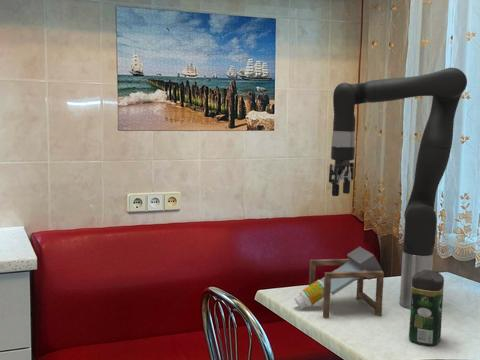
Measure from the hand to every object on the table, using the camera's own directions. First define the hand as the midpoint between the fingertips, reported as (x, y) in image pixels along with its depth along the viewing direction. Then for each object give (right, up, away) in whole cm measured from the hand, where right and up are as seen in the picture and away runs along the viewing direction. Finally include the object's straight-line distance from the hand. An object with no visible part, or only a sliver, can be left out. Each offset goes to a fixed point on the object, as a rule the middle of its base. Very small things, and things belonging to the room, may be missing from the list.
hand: (340, 194), depth 177 cm
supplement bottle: (-7, -28, -9) cm, 31 cm away
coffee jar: (+17, -38, -32) cm, 52 cm away
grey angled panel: (+2, -27, -9) cm, 28 cm away
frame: (-1, -35, -8) cm, 36 cm away
